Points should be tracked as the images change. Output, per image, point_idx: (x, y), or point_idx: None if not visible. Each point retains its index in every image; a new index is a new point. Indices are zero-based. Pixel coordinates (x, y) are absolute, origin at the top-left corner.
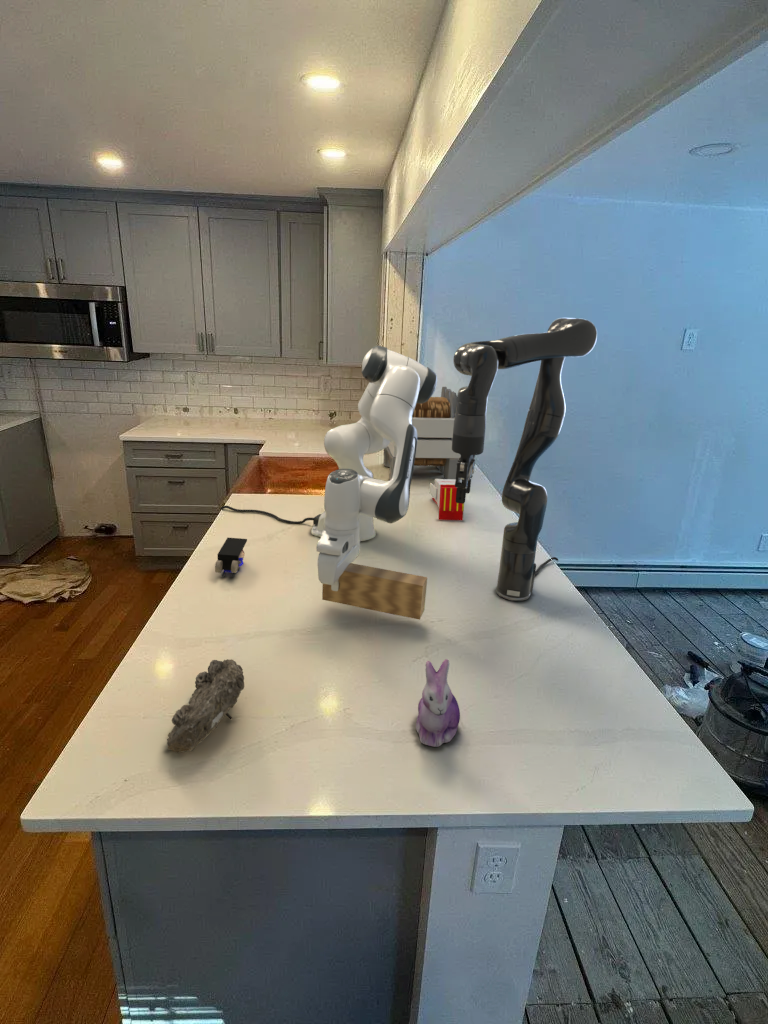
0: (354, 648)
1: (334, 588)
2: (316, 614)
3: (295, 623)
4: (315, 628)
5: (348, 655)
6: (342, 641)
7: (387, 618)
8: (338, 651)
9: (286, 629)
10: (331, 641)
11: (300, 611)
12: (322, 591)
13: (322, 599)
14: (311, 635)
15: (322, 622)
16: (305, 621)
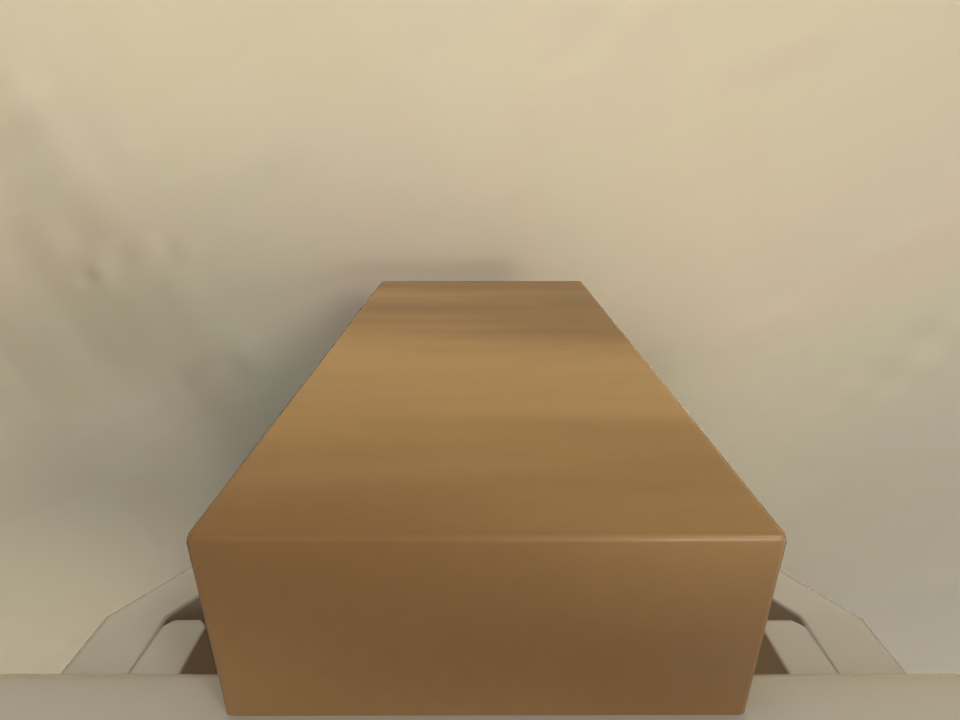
0: (94, 602)
1: None
2: (351, 224)
3: (131, 110)
4: (157, 304)
5: (10, 596)
6: (119, 523)
7: None
8: (8, 538)
9: (2, 76)
10: (77, 465)
11: (335, 58)
12: (362, 308)
13: (381, 284)
14: (56, 315)
15: (262, 319)
16: (205, 182)
